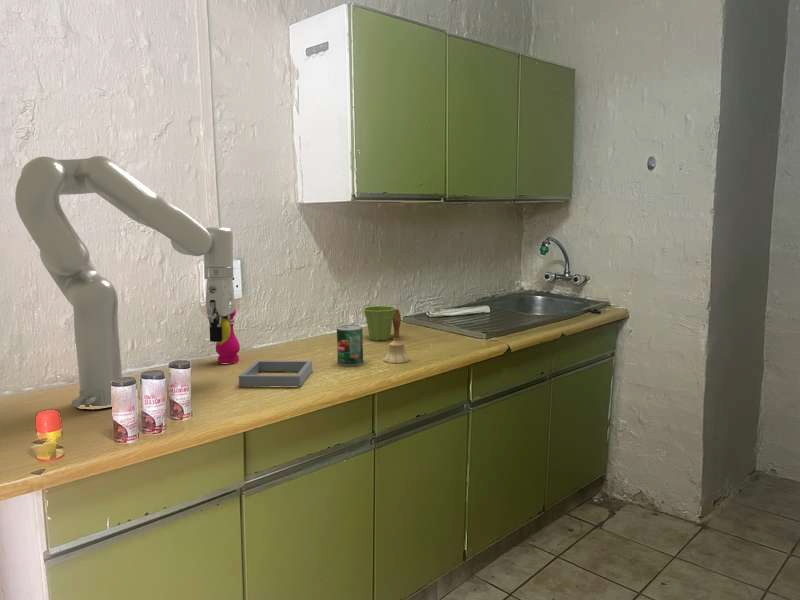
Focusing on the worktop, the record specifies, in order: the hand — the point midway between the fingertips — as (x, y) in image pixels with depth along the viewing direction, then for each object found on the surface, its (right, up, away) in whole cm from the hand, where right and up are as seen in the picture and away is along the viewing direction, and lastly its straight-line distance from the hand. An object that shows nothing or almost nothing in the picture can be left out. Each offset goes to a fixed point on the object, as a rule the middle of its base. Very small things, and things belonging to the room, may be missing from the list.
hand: (220, 338), depth 168 cm
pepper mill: (-4, -9, +22) cm, 24 cm away
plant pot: (+42, -4, +52) cm, 67 cm away
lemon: (0, -2, 0) cm, 2 cm away
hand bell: (+48, -8, +22) cm, 54 cm away
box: (+15, -11, +3) cm, 19 cm away
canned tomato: (+34, -9, +20) cm, 40 cm away
